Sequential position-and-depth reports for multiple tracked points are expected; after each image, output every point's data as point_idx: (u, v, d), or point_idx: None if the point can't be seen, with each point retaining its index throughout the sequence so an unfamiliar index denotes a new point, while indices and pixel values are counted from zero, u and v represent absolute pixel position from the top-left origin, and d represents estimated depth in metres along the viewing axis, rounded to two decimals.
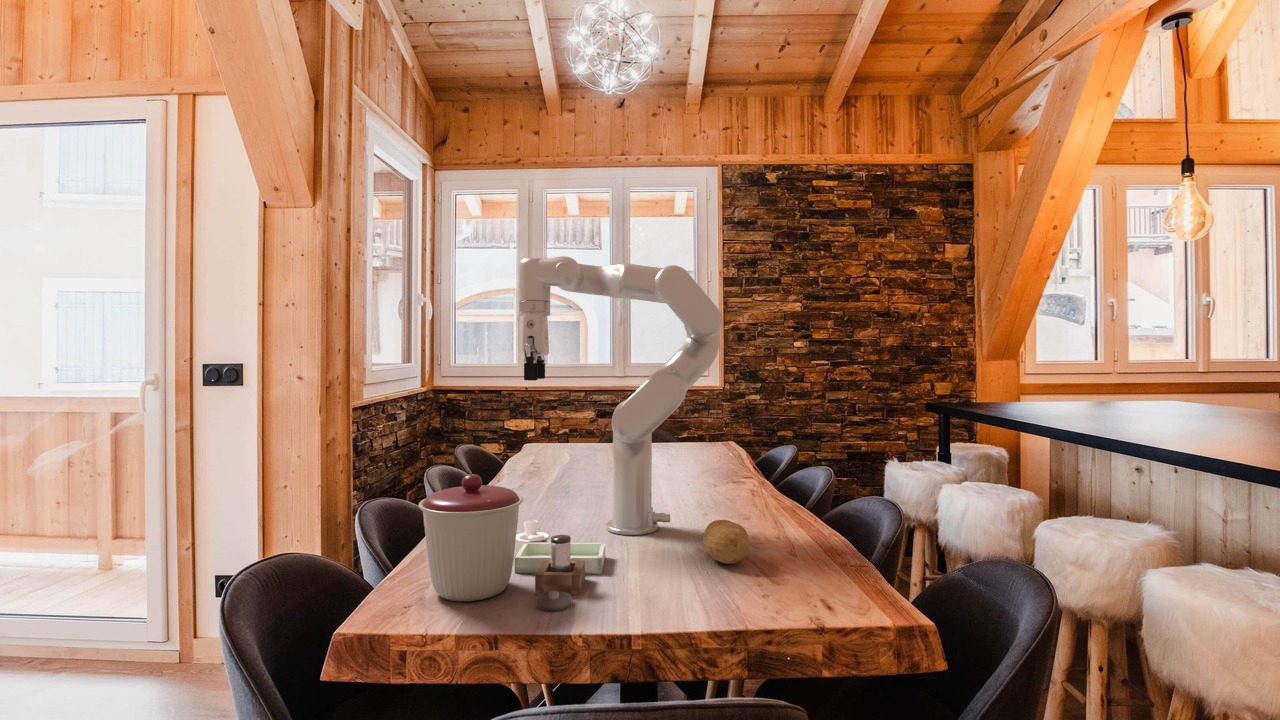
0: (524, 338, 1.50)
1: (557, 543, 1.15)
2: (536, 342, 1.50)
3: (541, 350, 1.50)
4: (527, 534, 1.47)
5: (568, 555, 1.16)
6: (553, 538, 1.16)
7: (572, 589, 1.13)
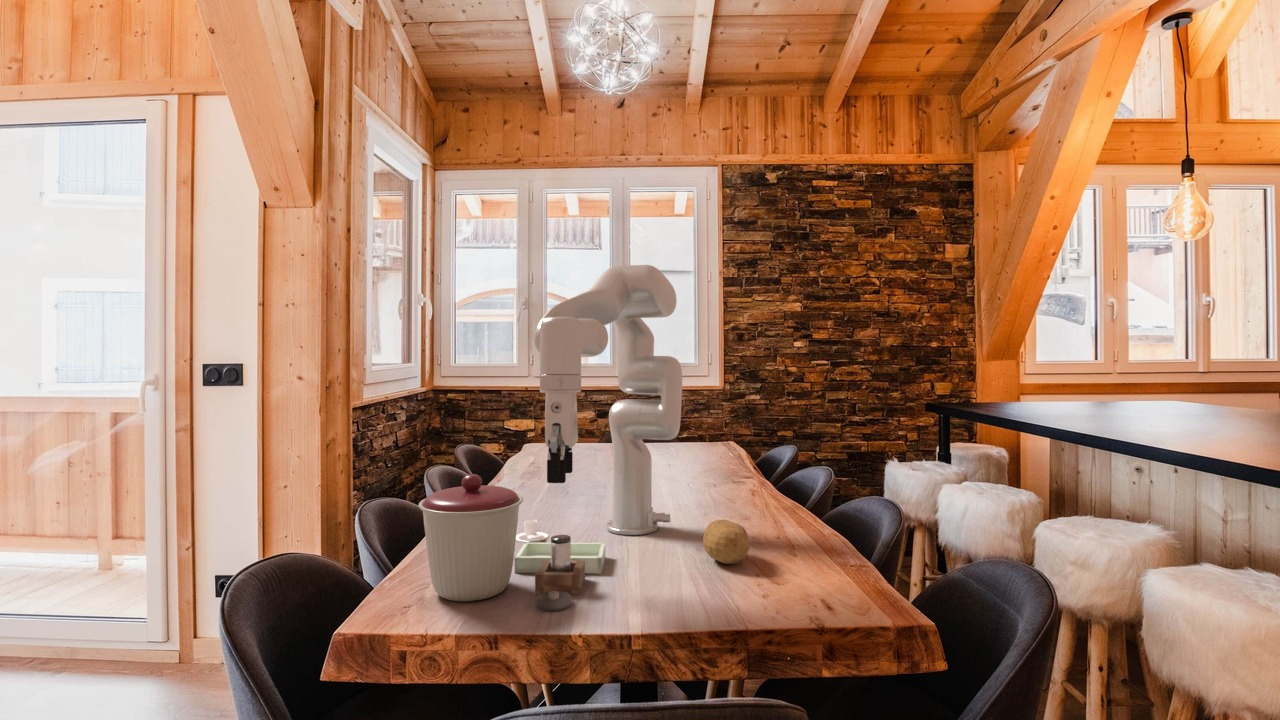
0: (547, 426, 1.12)
1: (557, 543, 1.15)
2: (563, 432, 1.11)
3: (570, 442, 1.12)
4: (527, 534, 1.47)
5: (568, 555, 1.16)
6: (553, 538, 1.16)
7: (572, 589, 1.13)
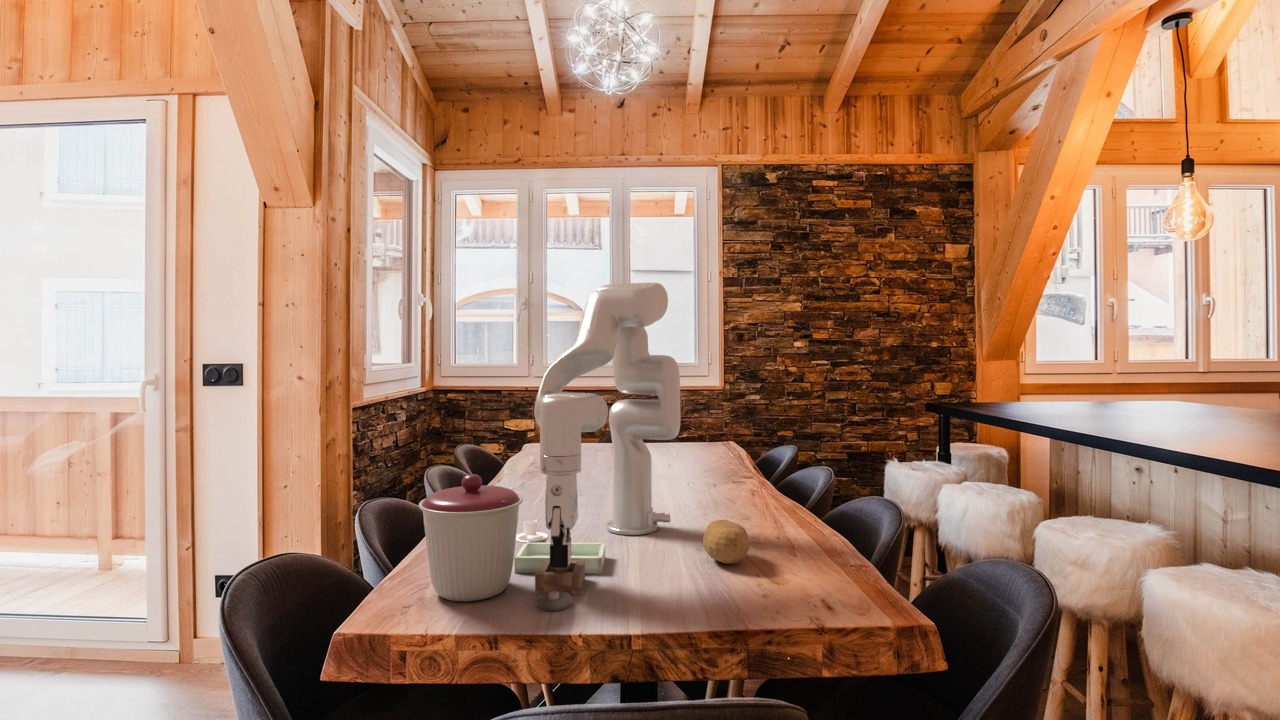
0: (548, 509, 1.12)
1: None
2: (563, 515, 1.12)
3: (570, 525, 1.12)
4: (526, 534, 1.47)
5: (568, 555, 1.16)
6: None
7: (572, 589, 1.13)
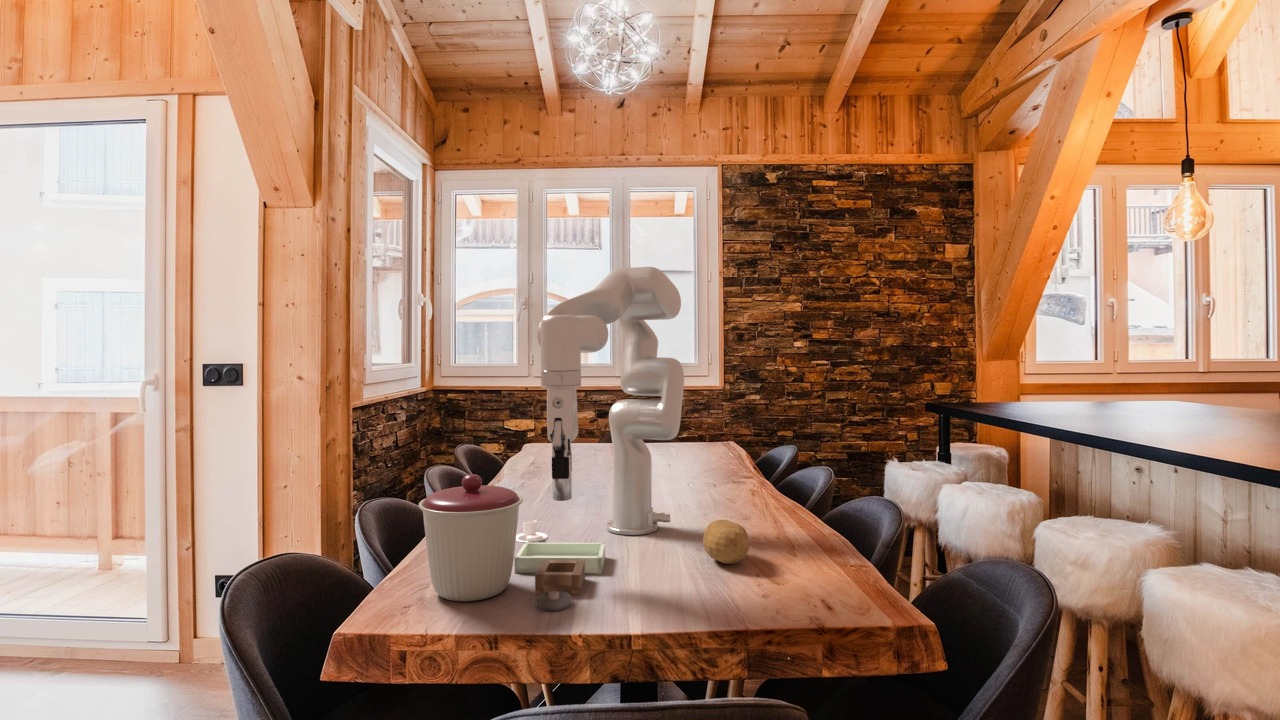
0: (549, 421, 1.16)
1: None
2: (565, 426, 1.16)
3: (572, 436, 1.16)
4: (526, 534, 1.47)
5: (569, 468, 1.20)
6: None
7: (572, 589, 1.13)
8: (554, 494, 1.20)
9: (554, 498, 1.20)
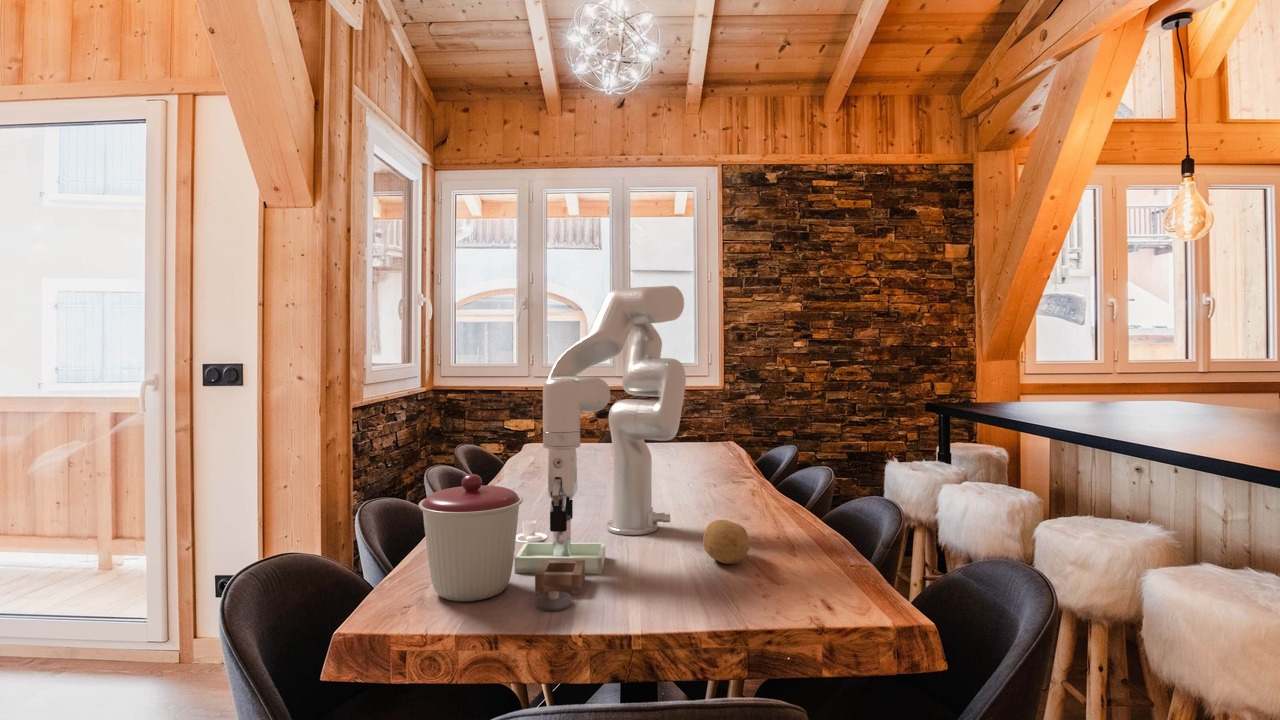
0: (550, 479, 1.24)
1: None
2: (564, 485, 1.24)
3: (571, 494, 1.24)
4: (525, 535, 1.47)
5: (568, 532, 1.28)
6: None
7: (572, 589, 1.13)
8: None
9: None
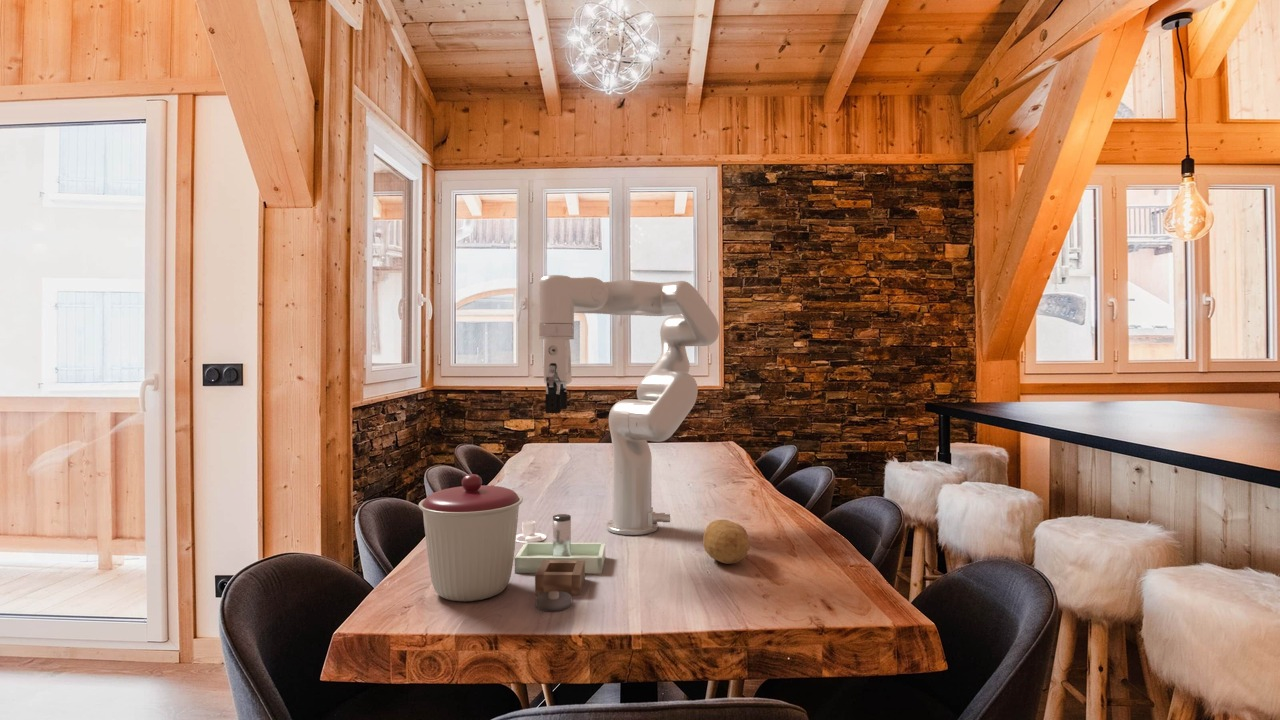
0: (545, 366, 1.34)
1: (558, 521, 1.27)
2: (559, 370, 1.33)
3: (565, 379, 1.34)
4: (524, 535, 1.47)
5: (568, 532, 1.28)
6: (555, 517, 1.28)
7: (572, 589, 1.13)
8: None
9: None
